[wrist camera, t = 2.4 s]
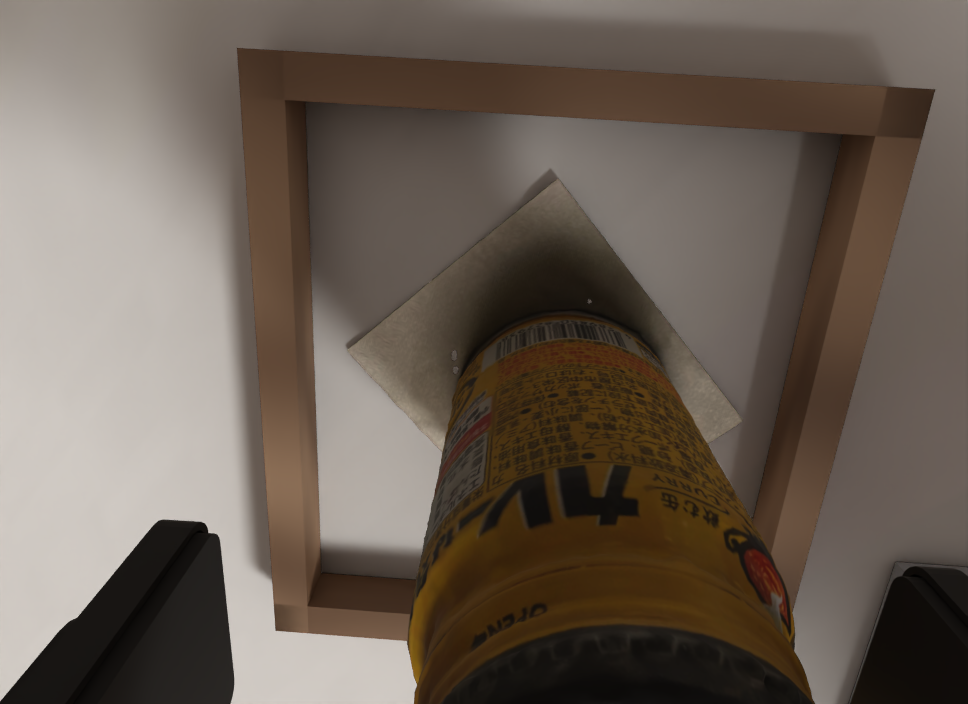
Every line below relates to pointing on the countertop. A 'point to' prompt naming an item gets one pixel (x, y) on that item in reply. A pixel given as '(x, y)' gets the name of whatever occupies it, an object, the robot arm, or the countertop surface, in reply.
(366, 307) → the countertop surface
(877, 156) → the wooden square frame
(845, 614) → the countertop surface
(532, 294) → the condiment
